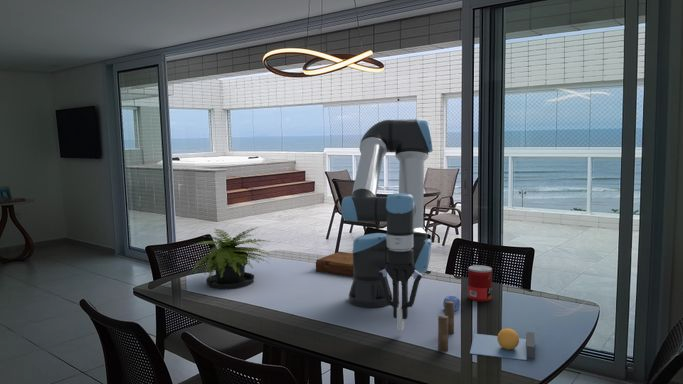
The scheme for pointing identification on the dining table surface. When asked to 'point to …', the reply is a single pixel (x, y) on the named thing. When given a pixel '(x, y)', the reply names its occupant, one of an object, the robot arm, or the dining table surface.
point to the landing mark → (497, 348)
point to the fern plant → (229, 261)
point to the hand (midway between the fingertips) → (400, 329)
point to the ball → (508, 339)
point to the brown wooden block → (336, 264)
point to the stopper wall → (530, 345)
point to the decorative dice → (453, 299)
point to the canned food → (480, 283)
